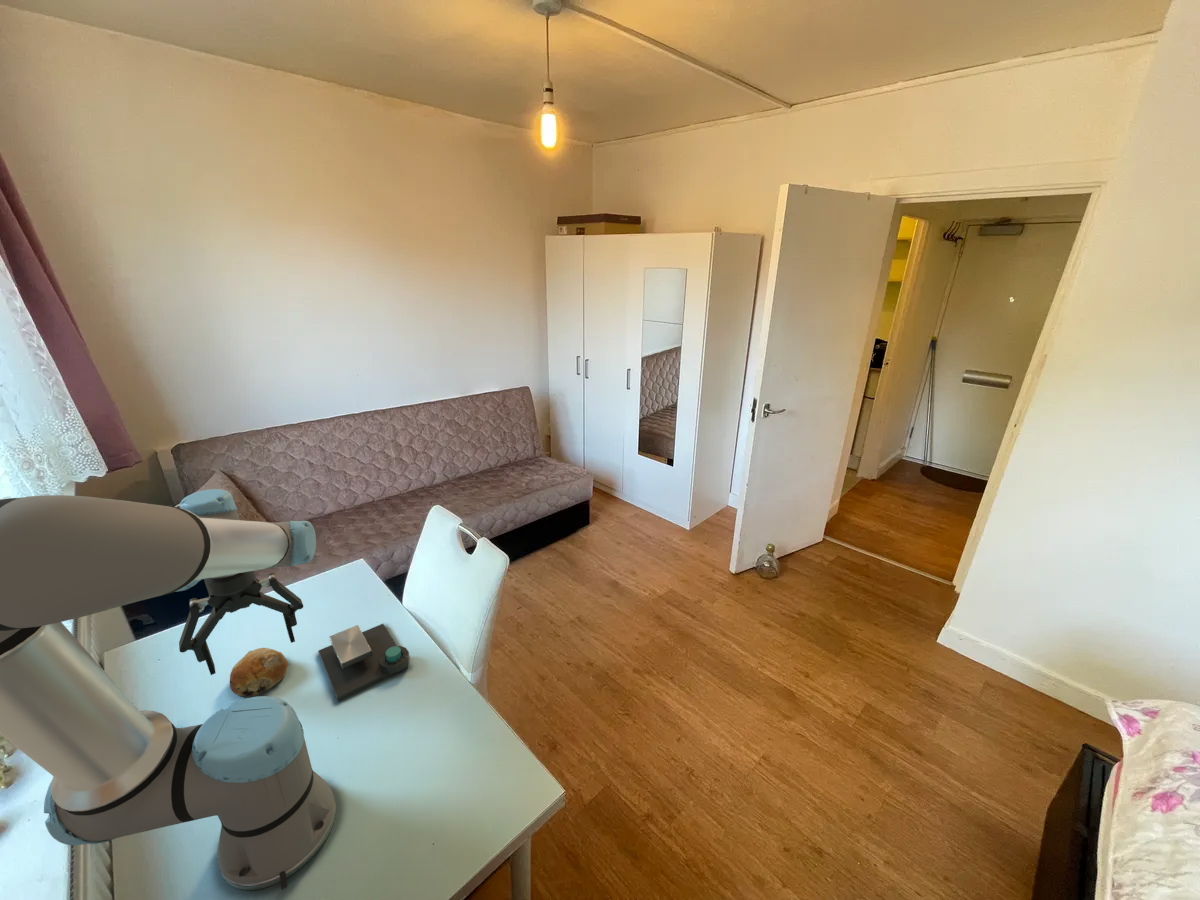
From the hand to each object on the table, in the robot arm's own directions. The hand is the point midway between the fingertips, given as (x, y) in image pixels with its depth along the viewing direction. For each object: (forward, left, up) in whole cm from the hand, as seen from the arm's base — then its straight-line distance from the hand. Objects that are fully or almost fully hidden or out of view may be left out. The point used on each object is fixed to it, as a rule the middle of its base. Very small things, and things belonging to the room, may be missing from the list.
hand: (253, 653), depth 100 cm
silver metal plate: (-6, -16, -4) cm, 18 cm away
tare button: (-14, -23, -4) cm, 27 cm away
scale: (-8, -18, -7) cm, 21 cm away
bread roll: (0, 0, -7) cm, 7 cm away
